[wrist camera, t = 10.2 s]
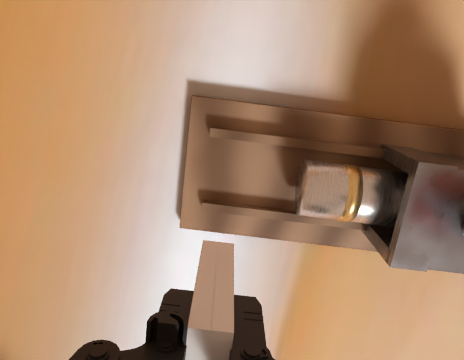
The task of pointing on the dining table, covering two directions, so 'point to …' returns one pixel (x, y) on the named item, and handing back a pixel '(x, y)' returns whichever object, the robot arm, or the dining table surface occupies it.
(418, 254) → the gate valve
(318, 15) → the dining table surface
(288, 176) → the board
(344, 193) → the pipe
